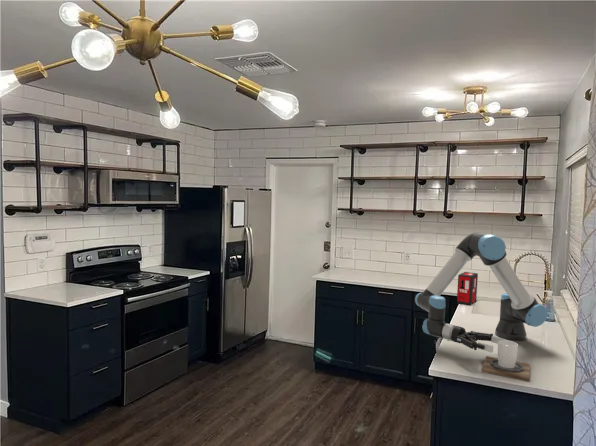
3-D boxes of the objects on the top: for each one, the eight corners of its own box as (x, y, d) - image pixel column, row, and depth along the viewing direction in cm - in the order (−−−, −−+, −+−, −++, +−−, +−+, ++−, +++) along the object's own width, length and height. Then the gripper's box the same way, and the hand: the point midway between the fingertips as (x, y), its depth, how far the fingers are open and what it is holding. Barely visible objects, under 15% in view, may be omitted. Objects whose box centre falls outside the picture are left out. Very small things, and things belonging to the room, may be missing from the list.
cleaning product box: (470, 305, 303) (471, 276, 301) (456, 303, 308) (458, 274, 306) (476, 301, 316) (477, 273, 315) (463, 299, 321) (464, 271, 320)
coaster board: (486, 358, 205) (486, 354, 205) (530, 366, 197) (530, 362, 197) (481, 371, 189) (482, 367, 189) (529, 381, 181) (529, 376, 181)
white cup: (510, 362, 197) (512, 340, 196) (520, 369, 189) (521, 346, 188) (493, 361, 197) (494, 339, 196) (501, 369, 189) (503, 346, 188)
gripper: (466, 336, 219) (511, 348, 203) (440, 346, 202) (486, 361, 187) (467, 321, 218) (512, 332, 203) (441, 330, 202) (487, 343, 186)
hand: (499, 346), depth 195 cm, fingers open, 13 cm apart
